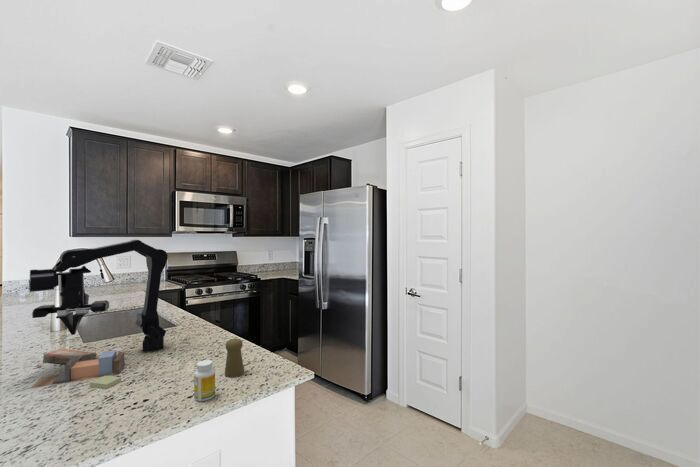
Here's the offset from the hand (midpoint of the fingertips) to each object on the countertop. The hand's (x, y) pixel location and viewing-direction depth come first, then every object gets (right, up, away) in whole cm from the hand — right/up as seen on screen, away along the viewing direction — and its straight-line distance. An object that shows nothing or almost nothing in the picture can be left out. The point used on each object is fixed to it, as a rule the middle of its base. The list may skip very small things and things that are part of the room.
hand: (73, 334), depth 108 cm
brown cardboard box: (+8, -11, -4) cm, 15 cm away
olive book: (+19, -13, -11) cm, 26 cm away
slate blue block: (+13, -11, -2) cm, 17 cm away
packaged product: (-6, -13, +6) cm, 16 cm away
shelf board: (+7, -13, -5) cm, 15 cm away
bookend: (+3, -11, -7) cm, 13 cm away
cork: (+54, -12, -2) cm, 56 cm away
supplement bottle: (+51, -12, -17) cm, 55 cm away
